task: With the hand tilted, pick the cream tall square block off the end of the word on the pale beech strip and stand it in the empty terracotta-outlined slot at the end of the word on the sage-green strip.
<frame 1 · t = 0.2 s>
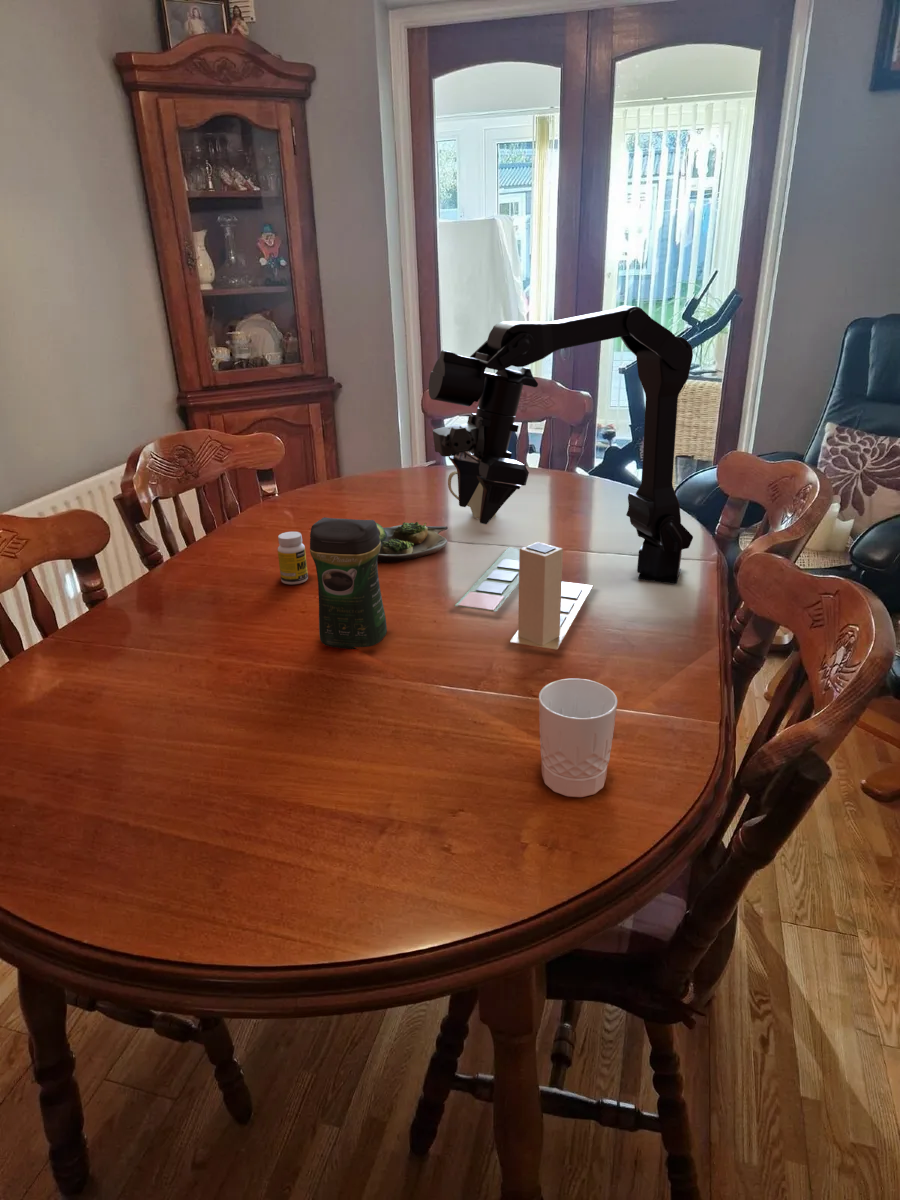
hand: (472, 514, 115), 15 cm above the table, tool pointing down, fingers open, 9 cm apart
cream tall square block: (538, 636, 109), point 1 cm above the table, touching word strip 2
word strip 1: (502, 581, 130), on the table
white cup: (573, 779, 81), on the table
coffee jar: (353, 640, 112), on the table
word strip 2: (554, 617, 117), on the table
supplement bottle: (295, 581, 133), on the table
mug: (480, 517, 164), on the table
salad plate: (397, 547, 147), on the table
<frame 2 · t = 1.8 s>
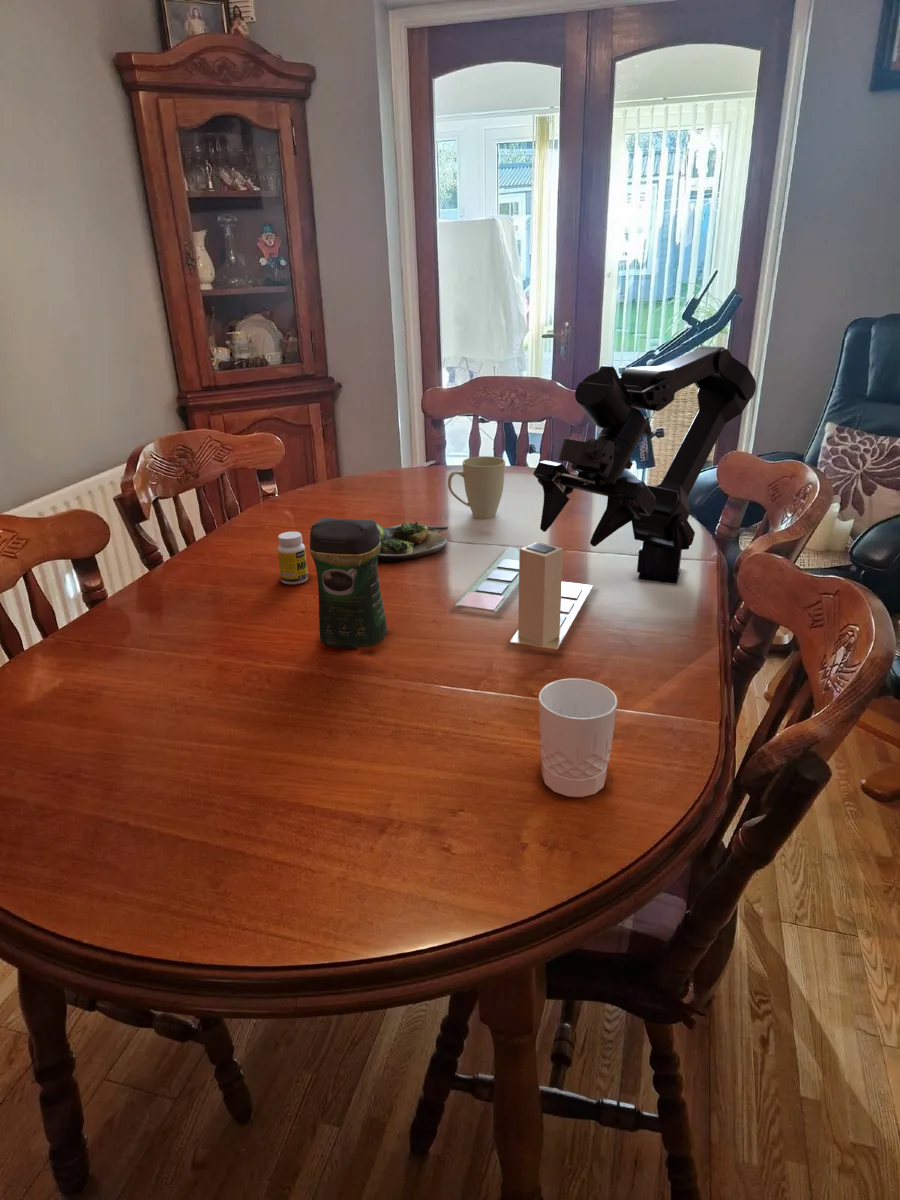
hand: (566, 537, 109), 14 cm above the table, tool tilted 40°, fingers open, 9 cm apart
nothing on the table moved.
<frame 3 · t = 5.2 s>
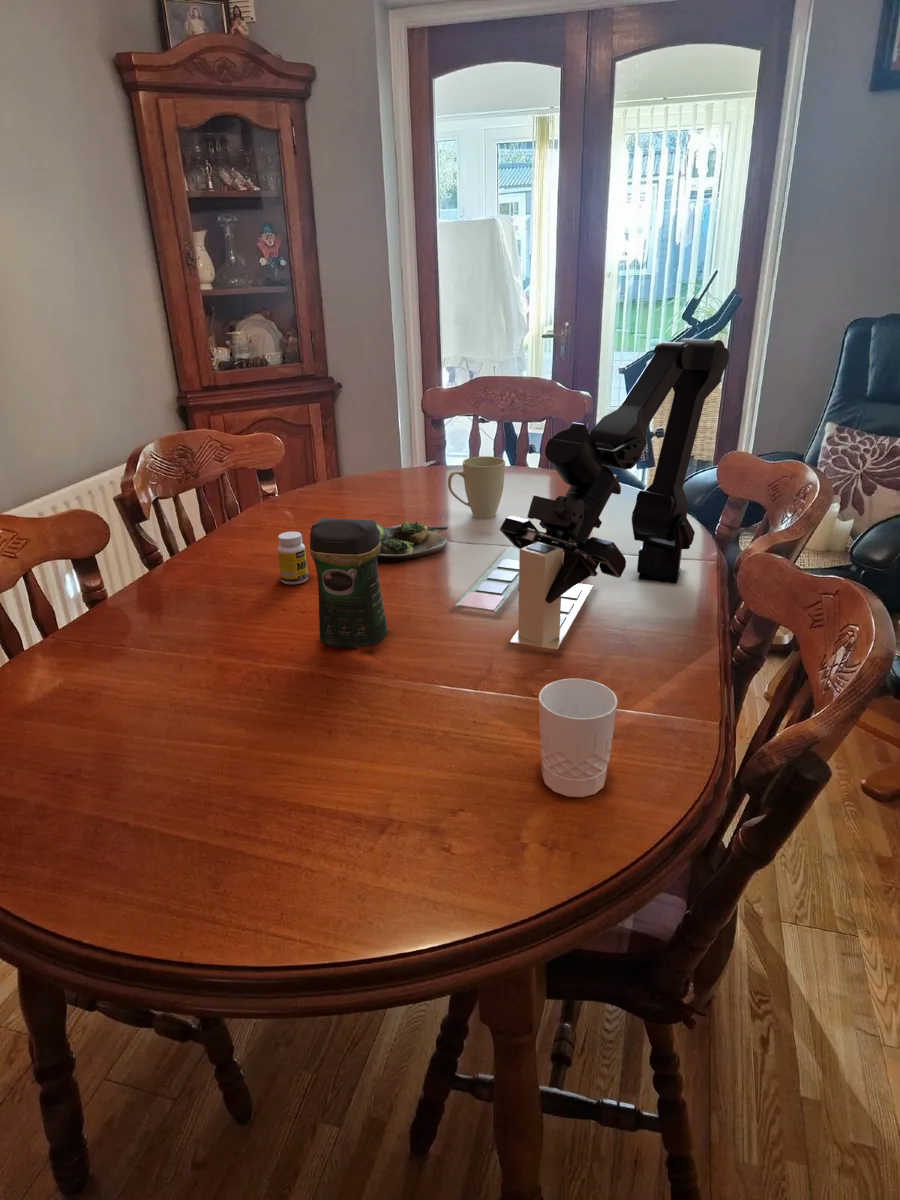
hand: (533, 597, 105), 8 cm above the table, tool tilted 45°, fingers closed on cream tall square block, 4 cm apart
cream tall square block: (538, 636, 109), point 1 cm above the table, touching gripper, word strip 2
everything else where it was.
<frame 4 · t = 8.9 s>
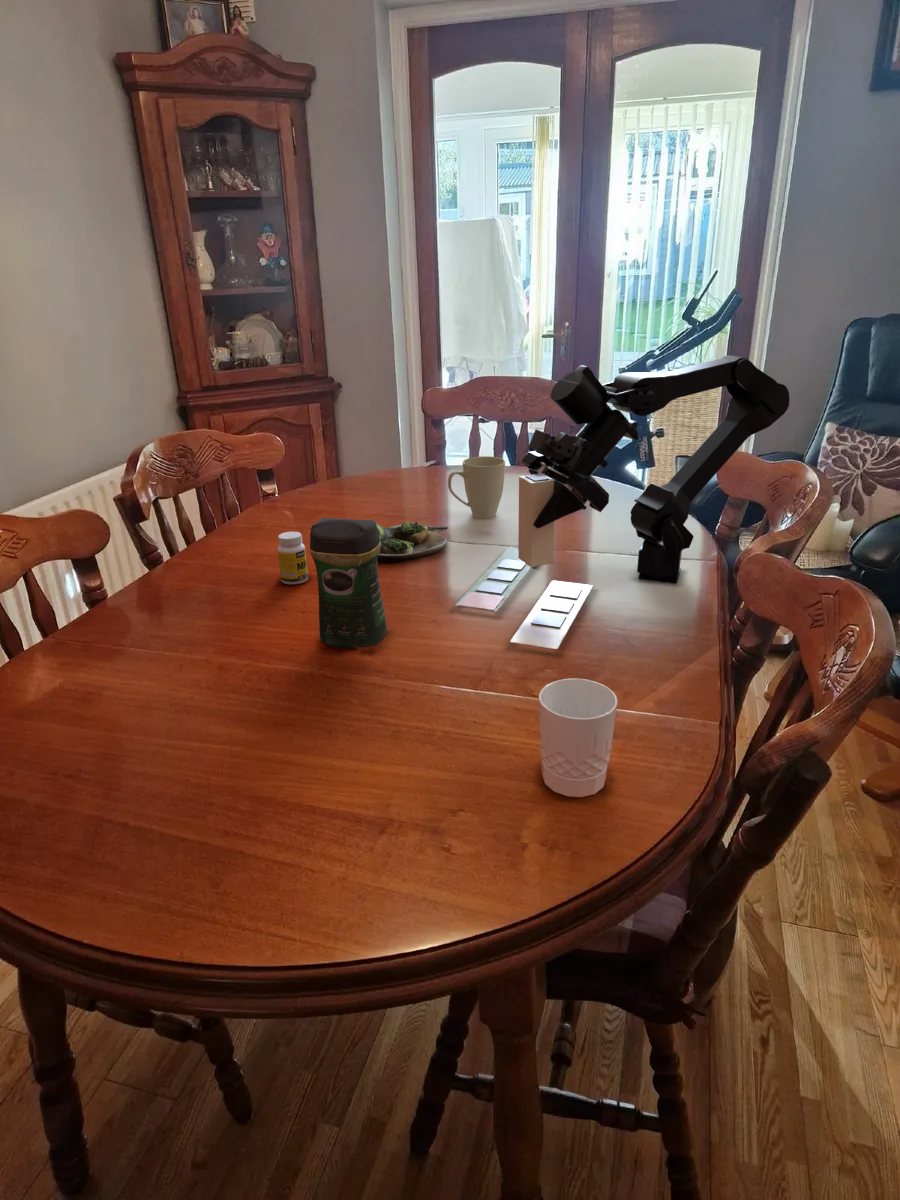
hand: (528, 522, 117), 13 cm above the table, tool tilted 45°, fingers closed on cream tall square block, 4 cm apart
cream tall square block: (535, 560, 120), point 7 cm above the table, touching gripper
everything else where it was.
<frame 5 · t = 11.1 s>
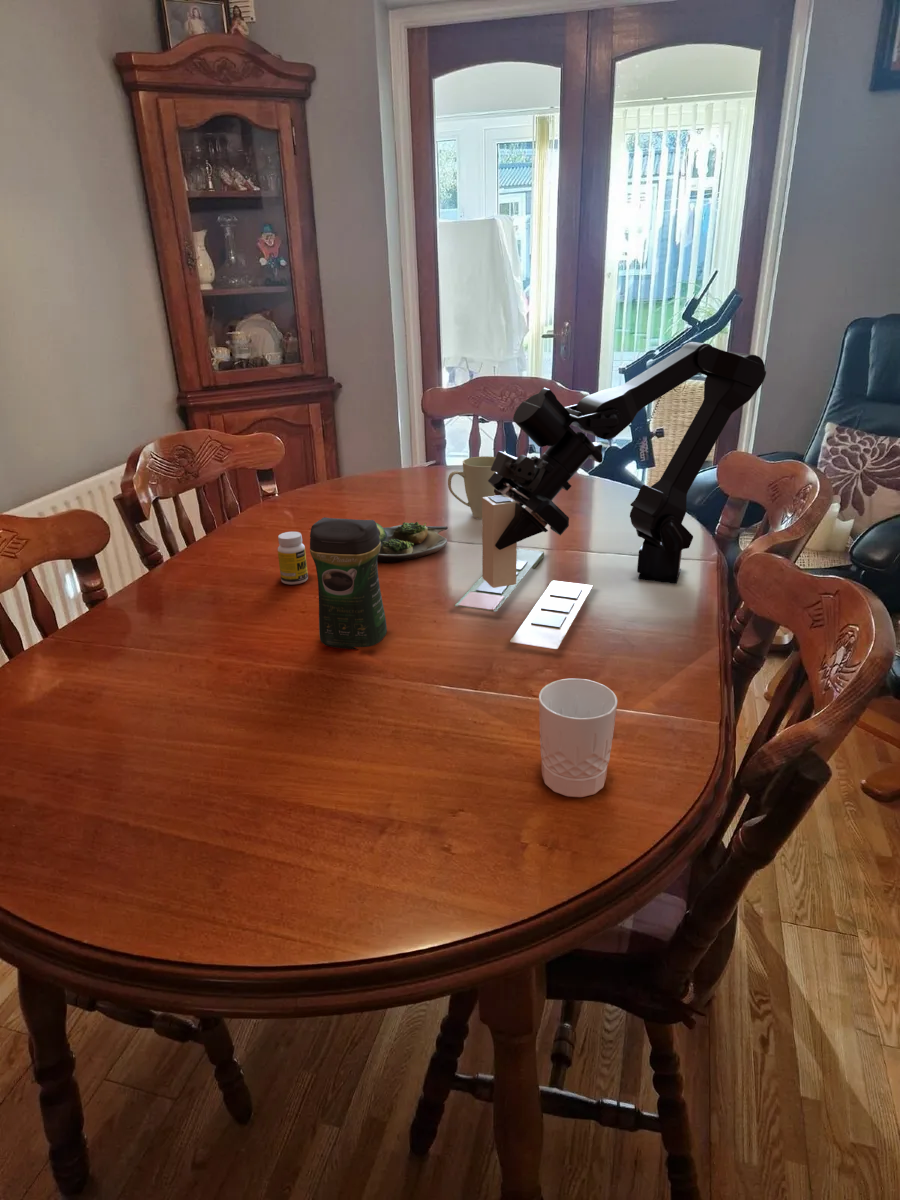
hand: (491, 543, 117), 11 cm above the table, tool tilted 45°, fingers closed on cream tall square block, 4 cm apart
cream tall square block: (499, 581, 120), point 4 cm above the table, touching gripper
everything else where it was.
when the fingers open (8 cm above the table, at t = 12.8 s): cream tall square block stays where it is, resting on word strip 1.
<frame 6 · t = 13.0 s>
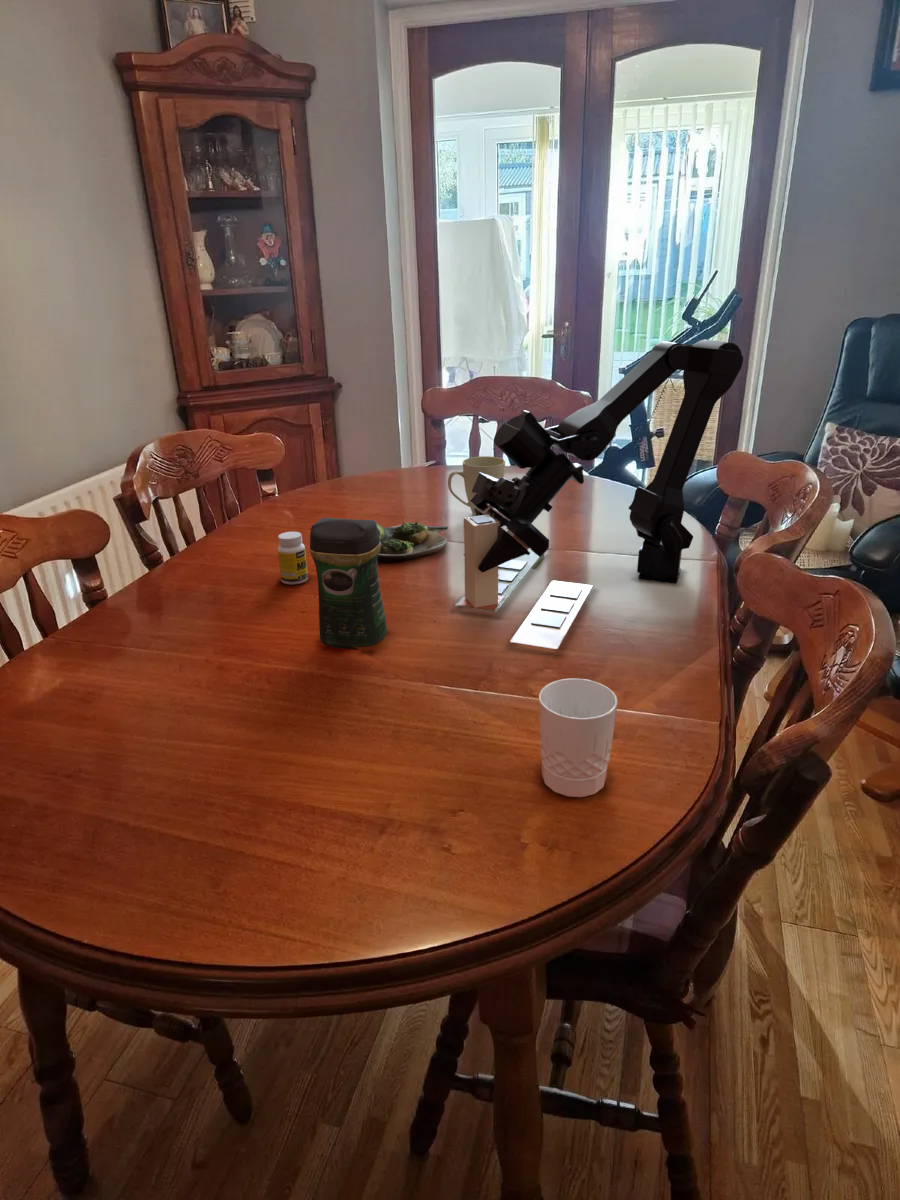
hand: (472, 563, 117), 8 cm above the table, tool tilted 45°, fingers open, 6 cm apart
cream tall square block: (481, 600, 120), point 1 cm above the table, touching word strip 1
everything else where it was.
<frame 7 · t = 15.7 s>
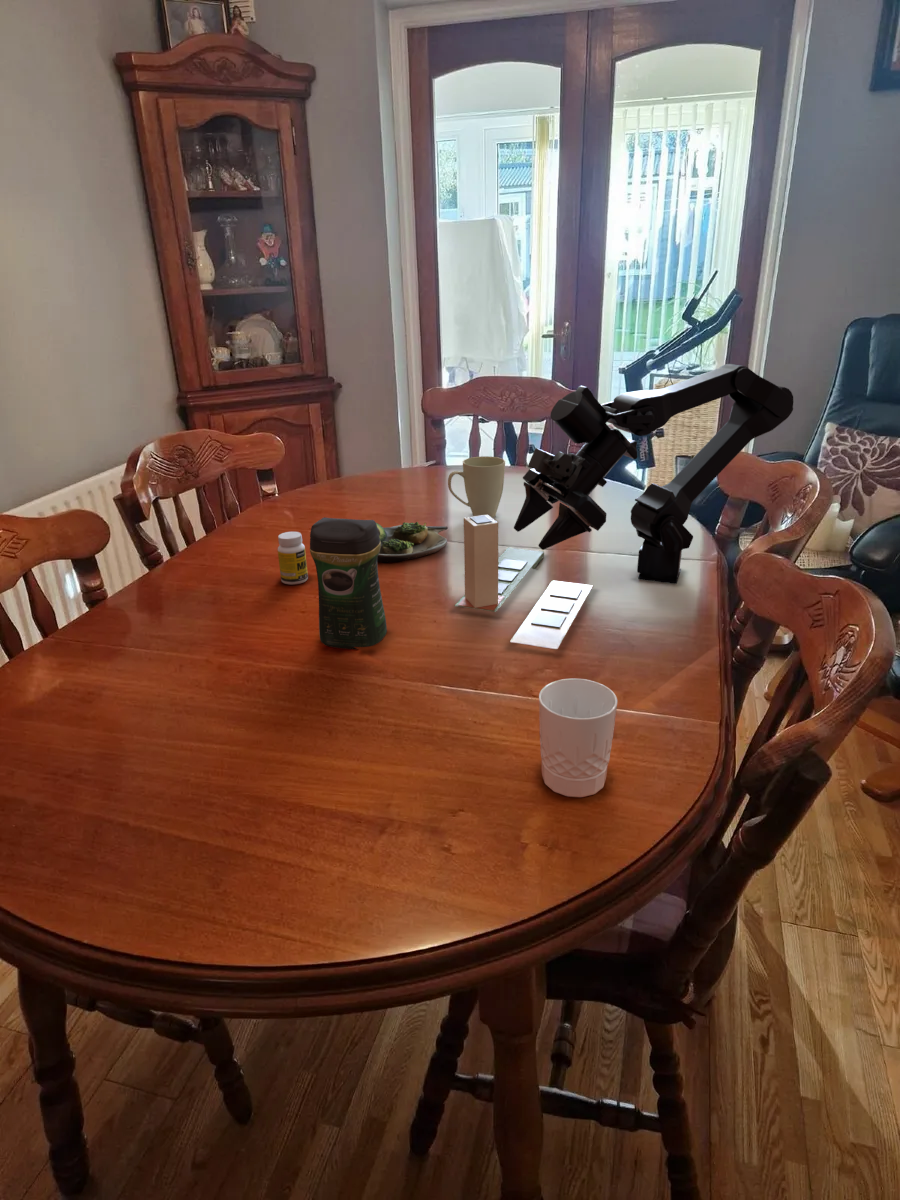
hand: (527, 538, 119), 10 cm above the table, tool tilted 45°, fingers open, 9 cm apart
nothing on the table moved.
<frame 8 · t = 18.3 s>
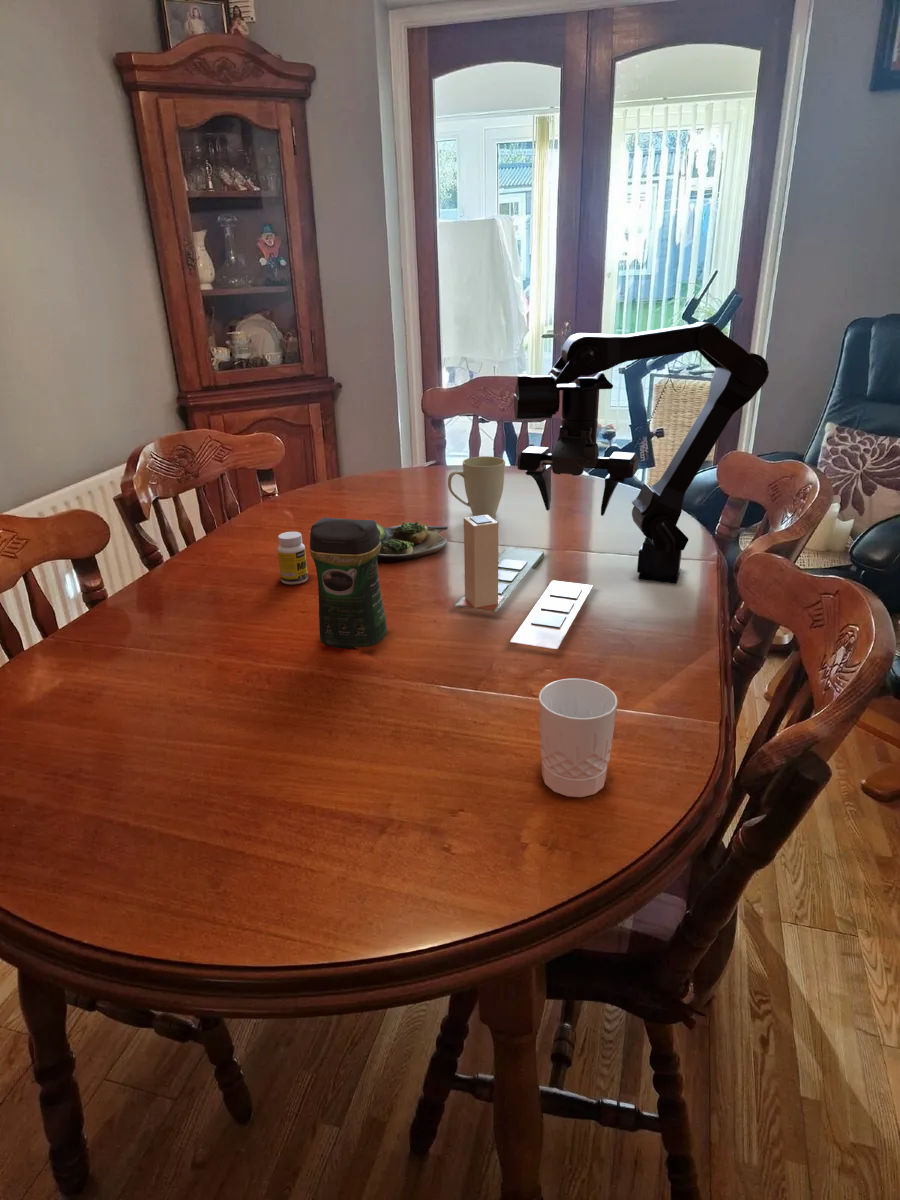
hand: (575, 512, 126), 12 cm above the table, tool pointing down, fingers open, 9 cm apart
nothing on the table moved.
at the end: cream tall square block 0.0 cm from the target spot on the word strip 1, point 1.1 cm above the word strip 1's base; cream tall square block tilted 0°; the gripper is holding nothing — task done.
